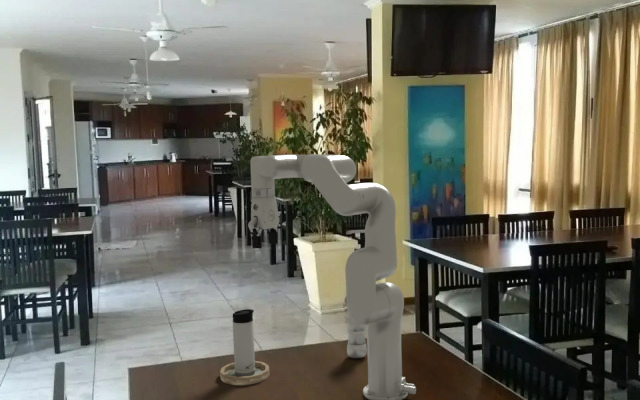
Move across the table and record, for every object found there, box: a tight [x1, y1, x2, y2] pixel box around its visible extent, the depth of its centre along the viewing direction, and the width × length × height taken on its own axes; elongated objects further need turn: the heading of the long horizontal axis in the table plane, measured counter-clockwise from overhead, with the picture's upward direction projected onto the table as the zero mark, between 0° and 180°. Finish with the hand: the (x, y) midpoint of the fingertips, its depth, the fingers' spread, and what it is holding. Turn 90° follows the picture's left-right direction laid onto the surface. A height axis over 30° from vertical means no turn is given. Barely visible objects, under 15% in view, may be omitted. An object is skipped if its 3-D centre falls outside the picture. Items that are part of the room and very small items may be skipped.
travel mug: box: [232, 308, 256, 377], centre depth 191 cm, size 6×7×20 cm
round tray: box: [219, 360, 270, 386], centre depth 192 cm, size 15×15×2 cm
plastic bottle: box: [346, 309, 368, 359], centre depth 205 cm, size 6×7×20 cm
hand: (265, 245), depth 203 cm, fingers open, 9 cm apart
